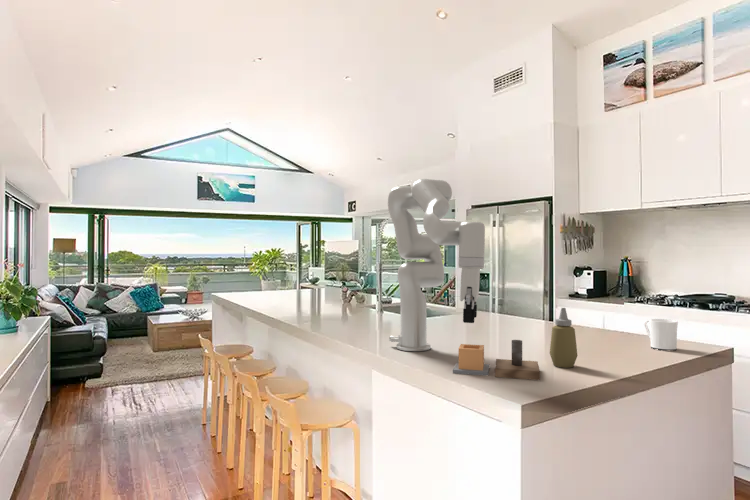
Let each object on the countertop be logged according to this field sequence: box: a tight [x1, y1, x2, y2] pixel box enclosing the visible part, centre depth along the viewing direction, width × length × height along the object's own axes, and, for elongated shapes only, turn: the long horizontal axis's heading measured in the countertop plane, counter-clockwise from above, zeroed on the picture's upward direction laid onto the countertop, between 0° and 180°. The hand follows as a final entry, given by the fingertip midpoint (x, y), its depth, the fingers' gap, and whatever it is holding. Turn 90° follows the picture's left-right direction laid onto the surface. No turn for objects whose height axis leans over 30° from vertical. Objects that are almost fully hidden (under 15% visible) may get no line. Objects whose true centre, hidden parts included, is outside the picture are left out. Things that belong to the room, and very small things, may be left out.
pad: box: [452, 361, 491, 376], centre depth 143 cm, size 10×10×1 cm
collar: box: [458, 343, 485, 370], centre depth 143 cm, size 7×7×6 cm
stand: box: [494, 339, 541, 381], centre depth 140 cm, size 12×12×10 cm
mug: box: [643, 318, 679, 351], centre depth 175 cm, size 11×9×10 cm
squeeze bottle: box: [549, 307, 578, 369], centre depth 148 cm, size 8×8×18 cm
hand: (470, 319), depth 144 cm, fingers open, 9 cm apart
